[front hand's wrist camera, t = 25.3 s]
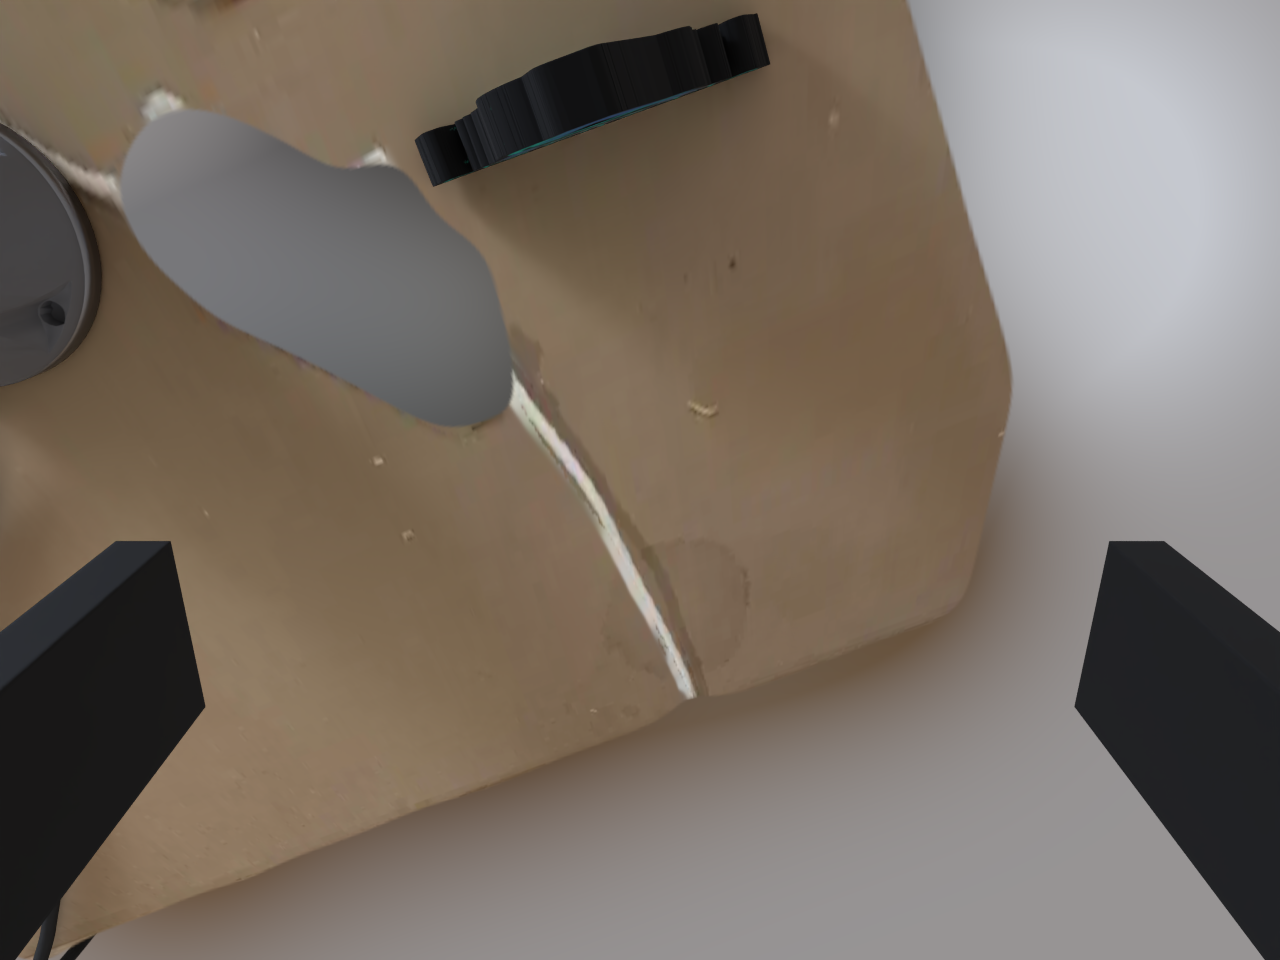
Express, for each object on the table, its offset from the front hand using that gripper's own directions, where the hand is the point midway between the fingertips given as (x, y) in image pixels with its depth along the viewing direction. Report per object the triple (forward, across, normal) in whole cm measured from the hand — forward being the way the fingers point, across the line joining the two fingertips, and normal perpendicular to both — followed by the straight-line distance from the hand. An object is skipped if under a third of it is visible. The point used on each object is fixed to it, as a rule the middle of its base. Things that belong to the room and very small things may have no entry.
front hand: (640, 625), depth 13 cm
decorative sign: (+41, +3, -8) cm, 42 cm away
